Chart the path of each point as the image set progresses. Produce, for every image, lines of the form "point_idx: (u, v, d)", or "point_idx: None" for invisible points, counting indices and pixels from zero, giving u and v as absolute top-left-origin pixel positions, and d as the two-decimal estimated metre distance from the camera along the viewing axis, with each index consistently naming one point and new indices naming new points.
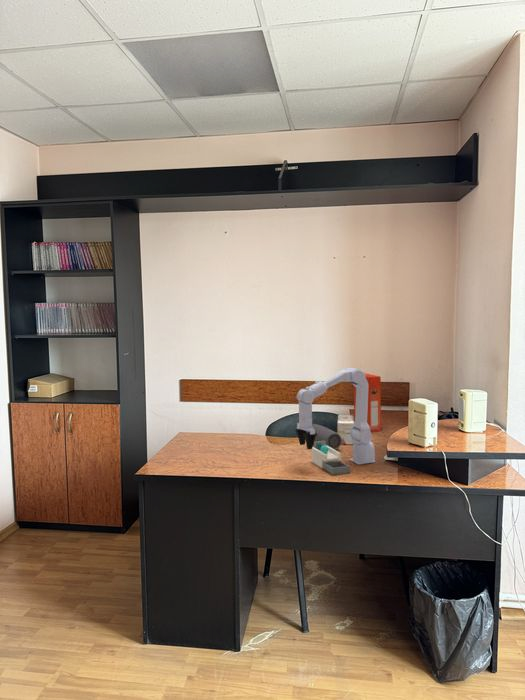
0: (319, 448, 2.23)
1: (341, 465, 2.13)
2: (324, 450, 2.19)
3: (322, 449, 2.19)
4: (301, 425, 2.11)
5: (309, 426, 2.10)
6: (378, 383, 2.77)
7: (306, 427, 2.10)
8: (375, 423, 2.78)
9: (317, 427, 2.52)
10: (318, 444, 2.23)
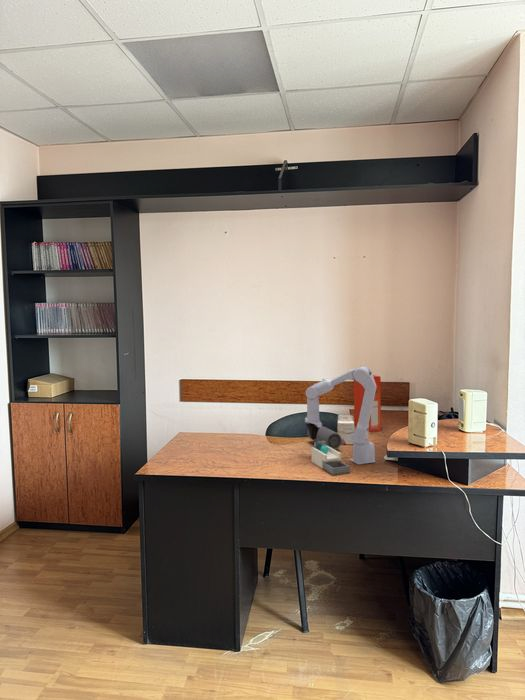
0: (319, 448, 2.23)
1: (341, 465, 2.13)
2: (324, 450, 2.19)
3: (322, 449, 2.19)
4: (309, 419, 2.28)
5: (316, 420, 2.28)
6: (378, 383, 2.77)
7: (314, 421, 2.27)
8: (375, 423, 2.78)
9: None
10: (318, 444, 2.23)
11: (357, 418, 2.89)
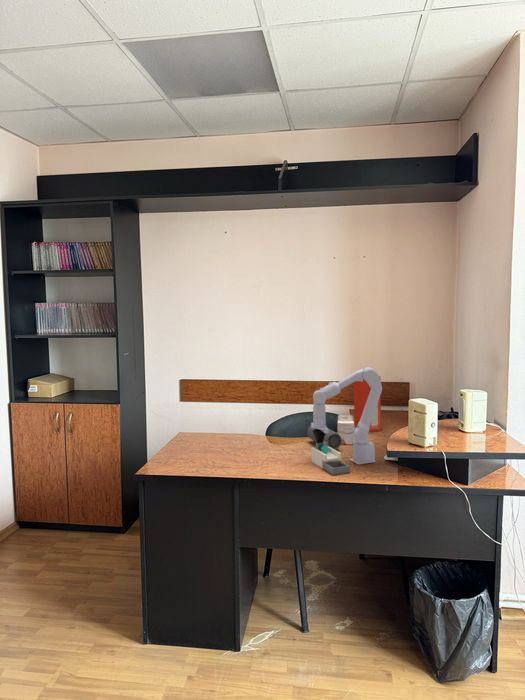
0: None
1: (341, 465, 2.13)
2: (324, 450, 2.18)
3: (322, 449, 2.19)
4: (315, 424, 2.22)
5: (323, 425, 2.22)
6: None
7: (320, 426, 2.21)
8: (375, 423, 2.78)
9: None
10: (320, 445, 2.21)
11: (357, 418, 2.89)
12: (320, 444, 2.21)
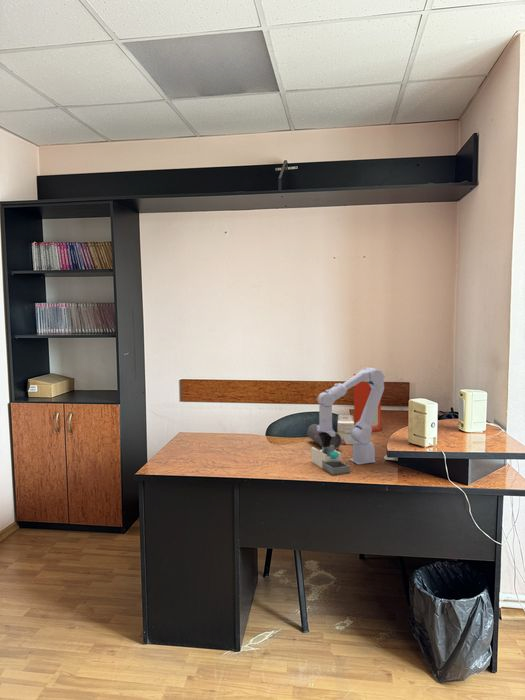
0: (327, 453, 2.16)
1: (341, 465, 2.13)
2: (333, 452, 2.11)
3: (330, 453, 2.11)
4: (321, 427, 2.16)
5: (329, 428, 2.16)
6: None
7: (326, 429, 2.15)
8: (375, 423, 2.78)
9: None
10: (326, 449, 2.15)
11: (357, 418, 2.89)
12: (326, 448, 2.15)
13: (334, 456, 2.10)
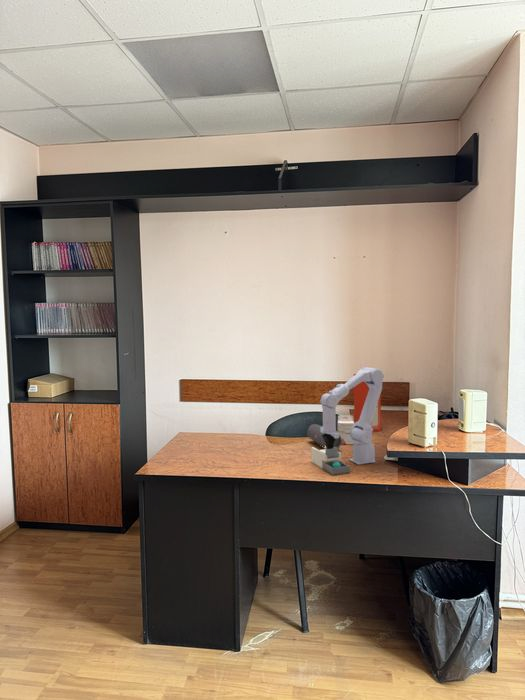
0: (331, 455, 2.12)
1: (341, 465, 2.13)
2: None
3: (334, 467, 2.08)
4: (325, 429, 2.13)
5: (333, 430, 2.12)
6: None
7: (330, 431, 2.12)
8: (375, 423, 2.78)
9: (317, 427, 2.52)
10: (330, 451, 2.12)
11: (357, 418, 2.89)
12: (330, 450, 2.12)
13: None
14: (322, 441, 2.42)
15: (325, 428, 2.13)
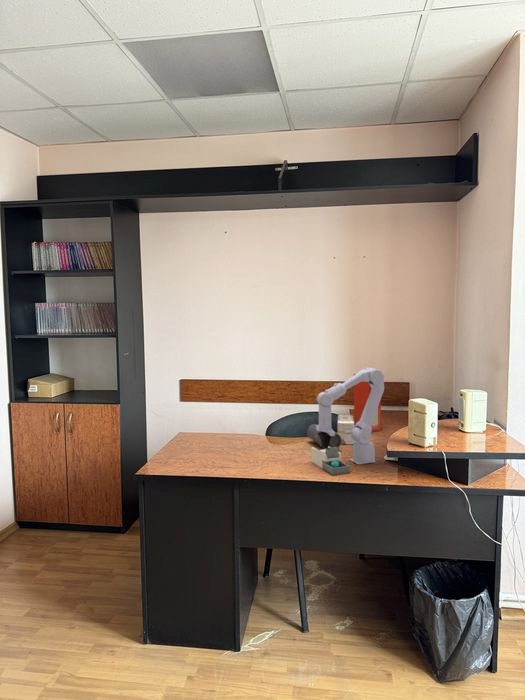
0: (331, 455, 2.12)
1: (341, 465, 2.13)
2: (334, 465, 2.10)
3: (332, 464, 2.10)
4: (321, 427, 2.17)
5: (329, 428, 2.16)
6: None
7: (326, 429, 2.16)
8: (375, 423, 2.78)
9: None
10: (330, 451, 2.12)
11: (357, 418, 2.89)
12: (330, 450, 2.12)
13: None
14: None
15: (321, 426, 2.17)
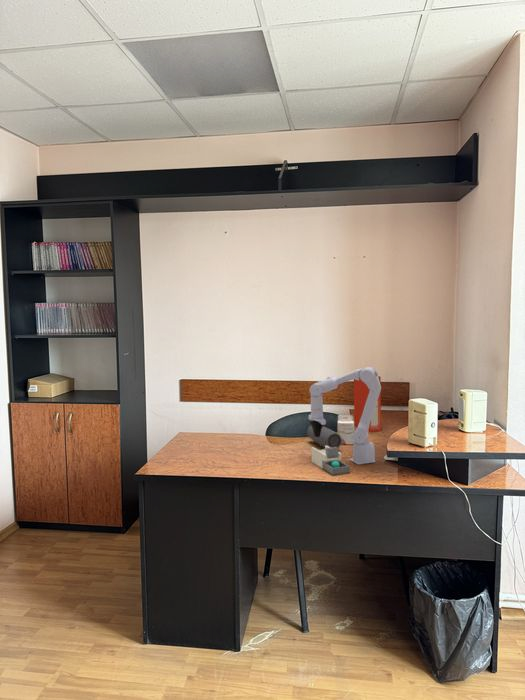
0: (331, 455, 2.12)
1: (341, 465, 2.13)
2: (335, 467, 2.09)
3: (333, 465, 2.09)
4: (313, 416, 2.27)
5: (320, 417, 2.26)
6: None
7: (317, 418, 2.26)
8: (375, 423, 2.78)
9: None
10: (330, 451, 2.12)
11: (357, 418, 2.89)
12: (330, 450, 2.12)
13: None
14: (322, 441, 2.42)
15: (313, 415, 2.26)
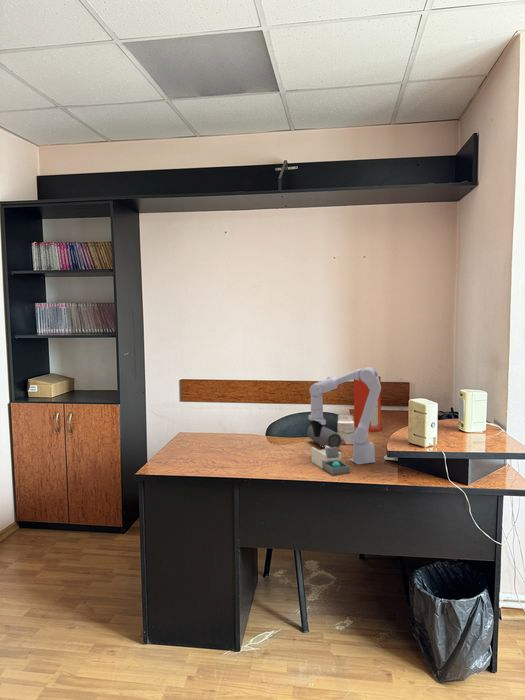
0: (331, 455, 2.12)
1: (341, 465, 2.13)
2: None
3: (334, 466, 2.09)
4: (313, 416, 2.27)
5: (320, 417, 2.26)
6: None
7: (317, 418, 2.26)
8: (375, 423, 2.78)
9: None
10: (330, 451, 2.12)
11: (357, 418, 2.89)
12: (330, 450, 2.12)
13: None
14: (322, 441, 2.42)
15: (313, 415, 2.26)
